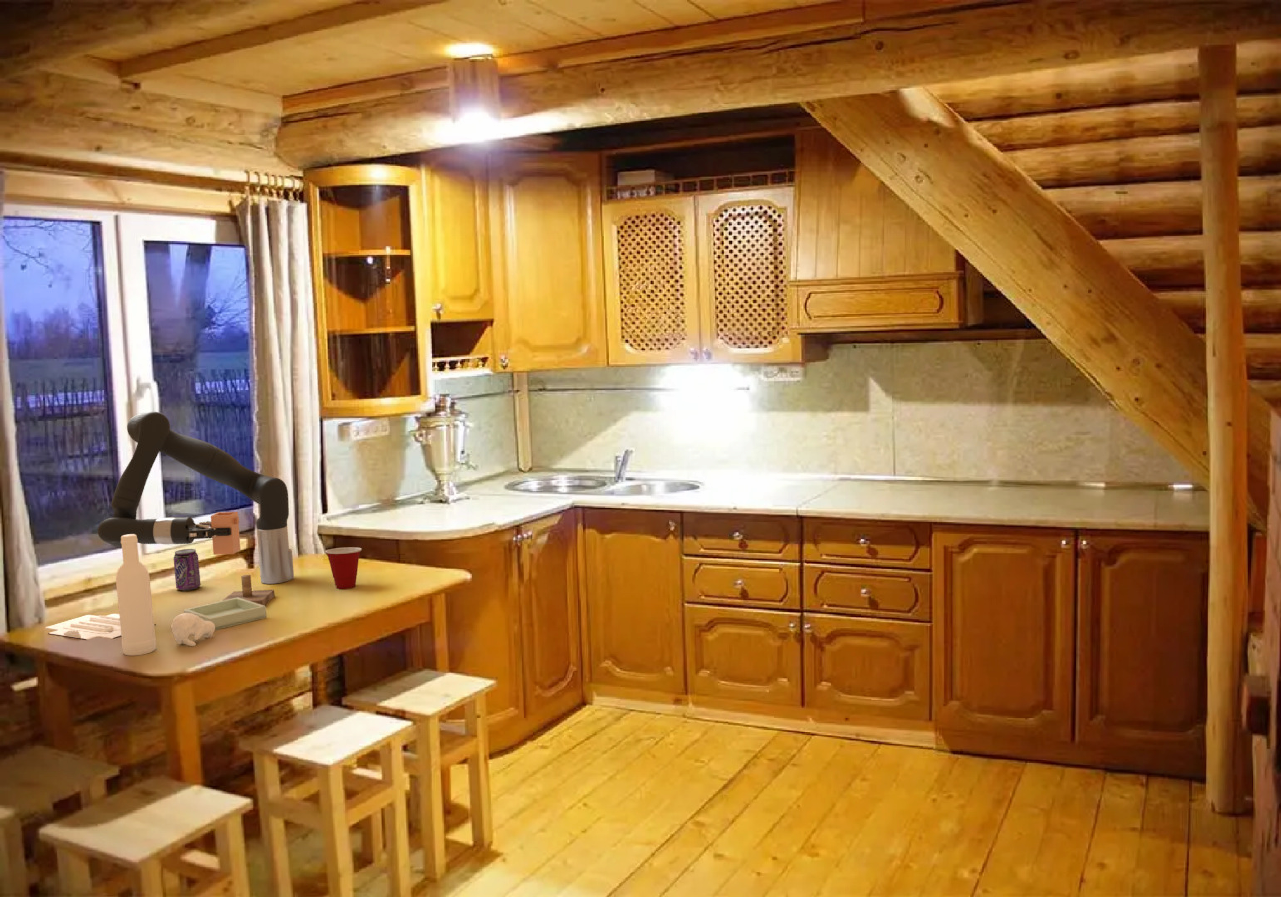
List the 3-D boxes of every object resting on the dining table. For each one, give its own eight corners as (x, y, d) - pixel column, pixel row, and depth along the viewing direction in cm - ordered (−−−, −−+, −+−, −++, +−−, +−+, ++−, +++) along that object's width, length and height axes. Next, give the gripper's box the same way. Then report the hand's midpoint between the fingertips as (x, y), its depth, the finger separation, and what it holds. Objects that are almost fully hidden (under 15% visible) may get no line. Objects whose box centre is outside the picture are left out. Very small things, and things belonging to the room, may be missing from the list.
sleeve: (220, 550, 320) (217, 512, 319) (243, 549, 320) (240, 511, 319) (213, 554, 315) (210, 516, 313) (236, 554, 315) (234, 515, 313)
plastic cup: (369, 582, 350) (366, 544, 348) (357, 591, 339) (354, 552, 337) (335, 582, 351) (332, 544, 349) (322, 591, 340) (319, 552, 339)
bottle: (115, 653, 284) (104, 537, 280) (142, 645, 291) (131, 531, 287) (137, 657, 280) (125, 539, 276) (163, 648, 287) (152, 533, 283)
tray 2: (98, 614, 325) (97, 602, 325) (166, 627, 313) (166, 614, 312) (33, 634, 307) (32, 621, 307) (102, 649, 295) (101, 635, 294)
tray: (238, 608, 324) (237, 597, 323) (266, 617, 313) (265, 606, 313) (184, 621, 312) (183, 609, 312) (211, 631, 301) (210, 619, 301)
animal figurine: (168, 614, 288) (205, 606, 298) (168, 646, 288) (205, 637, 299) (184, 616, 285) (221, 609, 295) (184, 648, 285) (221, 640, 296)
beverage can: (172, 589, 350) (168, 551, 348) (194, 584, 355) (191, 547, 353) (182, 592, 345) (179, 554, 343) (204, 588, 350) (201, 550, 348)
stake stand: (234, 598, 336) (231, 572, 335) (274, 596, 336) (272, 570, 335) (220, 608, 324) (218, 581, 323) (262, 607, 324) (260, 580, 323)
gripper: (163, 522, 309) (224, 521, 309) (183, 513, 323) (242, 511, 323) (165, 549, 310) (226, 547, 310) (185, 538, 324) (244, 537, 324)
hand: (234, 529), depth 317 cm, fingers closed on sleeve, 5 cm apart
